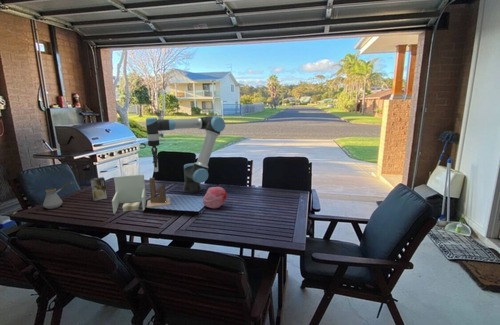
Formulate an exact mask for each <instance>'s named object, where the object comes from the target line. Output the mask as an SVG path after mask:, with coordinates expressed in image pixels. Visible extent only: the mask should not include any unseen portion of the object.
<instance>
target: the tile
mask: <svg viewBox="0 0 500 325" xmlns="http://www.w3.org/2000/svg"><path fill="white" fill-rule="evenodd" d="M146 201H147V202H146V208H155V207H165V206H171V204H172V203H171V198H170V197H166V202H165V203H160V202H150V199H149V200H147V199H146Z"/></svg>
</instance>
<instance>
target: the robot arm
mask: <svg viewBox="0 0 500 325" xmlns="http://www.w3.org/2000/svg"><path fill="white" fill-rule="evenodd" d="M145 127H146V138H147V140H148V141H147V144H148V147H151V150H150V151H151V155H152V164H153V170H154V171H153V172H154V173H157V172H159V160H158V159H159V156H158V147H159V146H160V145H161V144H160V134H159V132H163V131H165V132H166V131H174V130H181V129H182V130H183V129H185V130H186V129H198V130H205V132H206V134H205V136H204V140H203V142H202V146H201V149H200V151H199V154H198V157H197V160H196V162H191V163H186V164H184V165H183V176H184V177H183V178H184V184H183V188H182V192H183V193H185V194H194V193H195V194H196V193H199V192H202V185H201V183H204V182H206V181H207V180H208V179H209V172H208V170H209V161H210V159H211V155H212V152H213V150H214V147H215V143H216V141H217V137H219V136H220V135H221V132H223V130H225V128H226V122H225V119H224V118H223V117H221V116H217V115H214V116H213V115H208V116H200V117H197V118H168V119H165V118H164V119H163V118H157V117H147V118H146V119H145ZM157 146H158V147H157Z"/></svg>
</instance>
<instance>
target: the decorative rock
mask: <svg viewBox="0 0 500 325" xmlns="http://www.w3.org/2000/svg"><path fill="white" fill-rule="evenodd" d="M227 195H228V193H227V192H226V190H225V189H224V188H223V187H221V186H212V187H208V189H207V190H206V193H205V195H204V196H203V198H202V204H203V205H204V206H205V207H207V208H210V209H213V210H214V209H218V208H220V207H221V206H222V205H223V204H224V203H225V202H226V199H227Z"/></svg>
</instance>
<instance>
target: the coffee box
mask: <svg viewBox="0 0 500 325" xmlns="http://www.w3.org/2000/svg"><path fill="white" fill-rule="evenodd" d="M105 179H106V178H105V177H104V176H102V177H95V178H90V185H91V192H92V199H93V201H95V202H96V201H100V200H106V199H108V192H107V185H106V180H105Z"/></svg>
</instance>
